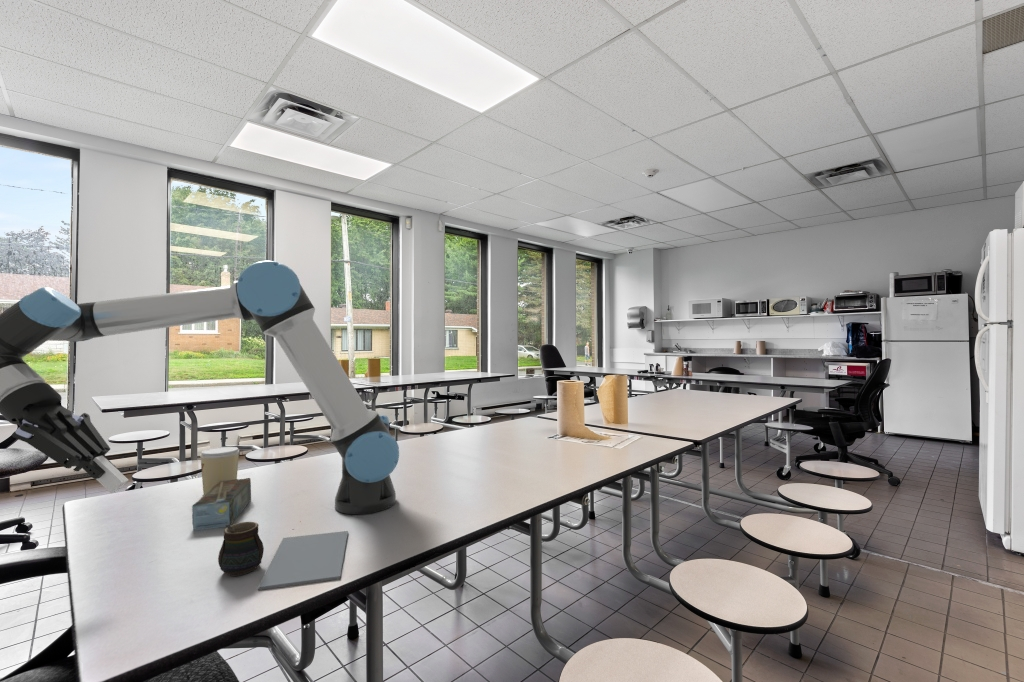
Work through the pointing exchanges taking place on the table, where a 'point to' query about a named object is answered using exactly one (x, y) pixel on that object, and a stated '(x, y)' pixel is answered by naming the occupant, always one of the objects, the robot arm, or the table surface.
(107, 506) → the table surface
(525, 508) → the table surface
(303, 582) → the mat
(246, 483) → the beverage carton
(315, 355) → the robot arm
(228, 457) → the coffee cup
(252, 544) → the mate gourd
